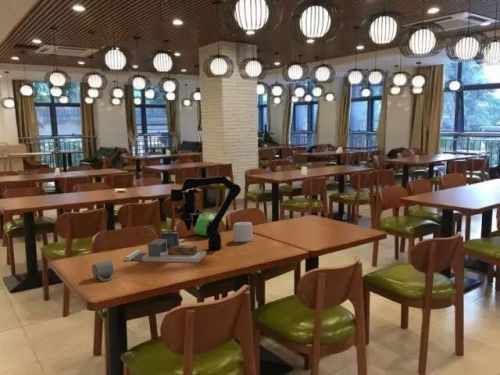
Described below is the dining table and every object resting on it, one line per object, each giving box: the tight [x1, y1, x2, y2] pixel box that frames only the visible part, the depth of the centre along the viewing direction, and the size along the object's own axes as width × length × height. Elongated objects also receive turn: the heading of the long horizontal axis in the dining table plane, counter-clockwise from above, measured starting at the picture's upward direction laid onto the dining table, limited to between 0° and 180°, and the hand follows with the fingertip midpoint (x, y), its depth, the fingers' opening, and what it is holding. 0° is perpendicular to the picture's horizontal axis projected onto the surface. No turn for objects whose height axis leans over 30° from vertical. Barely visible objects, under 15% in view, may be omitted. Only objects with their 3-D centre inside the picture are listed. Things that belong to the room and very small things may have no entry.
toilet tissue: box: [232, 221, 254, 243], centre depth 263 cm, size 11×12×10 cm
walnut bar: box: [167, 244, 198, 256], centre depth 230 cm, size 14×4×4 cm, turn 79°
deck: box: [125, 249, 207, 263], centre depth 232 cm, size 39×14×2 cm, turn 80°
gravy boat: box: [193, 211, 215, 237], centre depth 279 cm, size 18×17×15 cm
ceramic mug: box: [91, 259, 115, 282], centre depth 201 cm, size 11×8×8 cm
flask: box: [161, 229, 180, 250], centre depth 250 cm, size 9×3×11 cm, turn 87°
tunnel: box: [147, 238, 168, 257], centre depth 232 cm, size 6×11×6 cm, turn 170°
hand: (191, 229), depth 243 cm, fingers open, 9 cm apart
